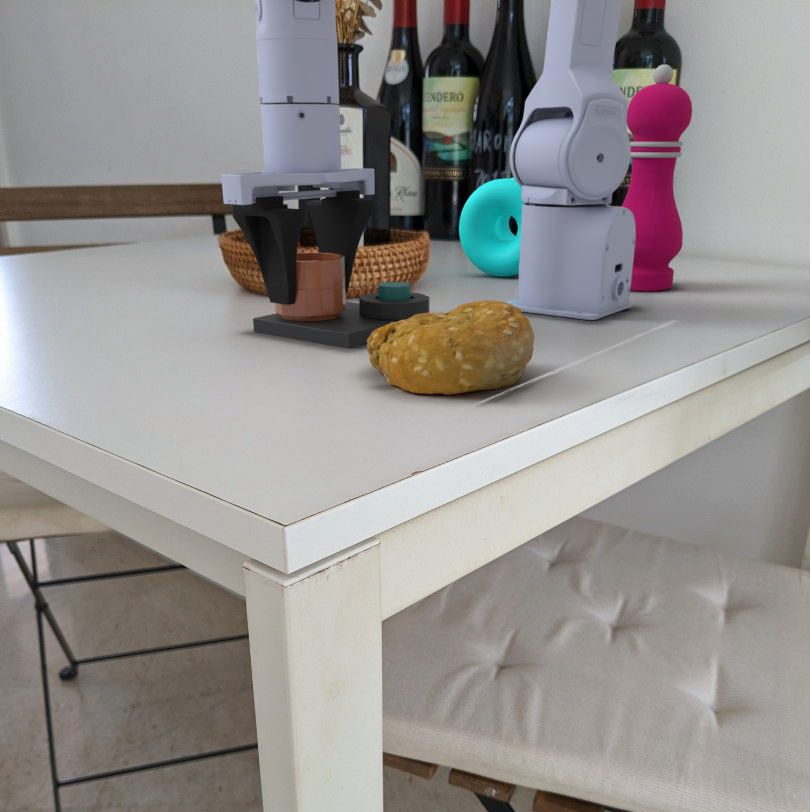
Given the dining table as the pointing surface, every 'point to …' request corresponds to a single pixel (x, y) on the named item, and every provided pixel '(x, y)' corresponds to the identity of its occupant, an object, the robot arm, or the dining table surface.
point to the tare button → (394, 291)
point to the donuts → (493, 227)
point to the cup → (317, 288)
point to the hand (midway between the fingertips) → (309, 297)
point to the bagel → (454, 349)
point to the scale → (345, 321)
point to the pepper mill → (656, 178)
